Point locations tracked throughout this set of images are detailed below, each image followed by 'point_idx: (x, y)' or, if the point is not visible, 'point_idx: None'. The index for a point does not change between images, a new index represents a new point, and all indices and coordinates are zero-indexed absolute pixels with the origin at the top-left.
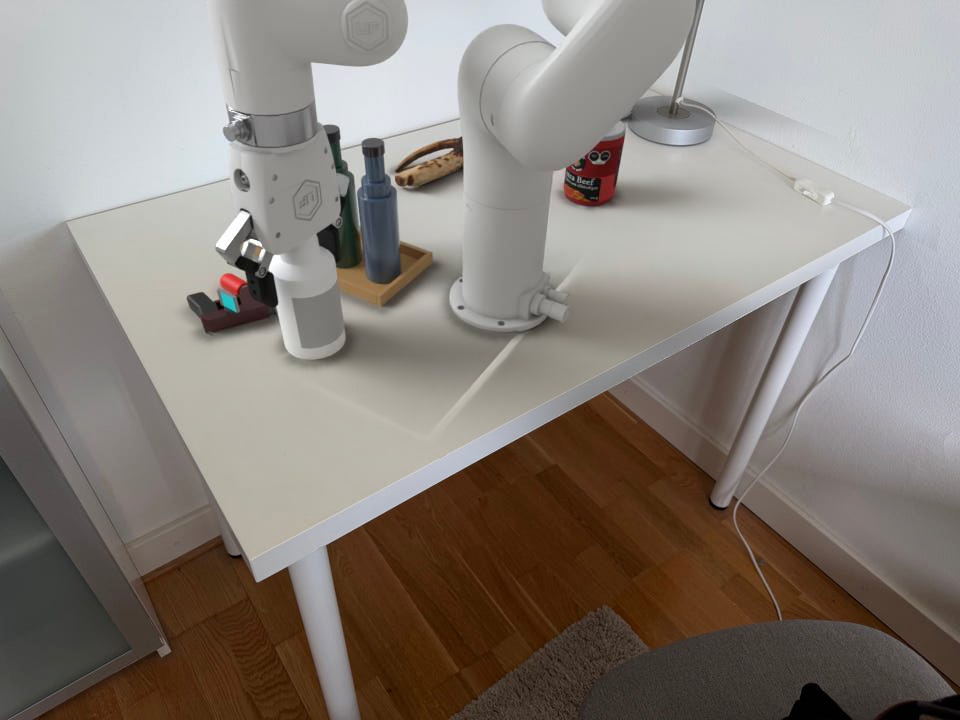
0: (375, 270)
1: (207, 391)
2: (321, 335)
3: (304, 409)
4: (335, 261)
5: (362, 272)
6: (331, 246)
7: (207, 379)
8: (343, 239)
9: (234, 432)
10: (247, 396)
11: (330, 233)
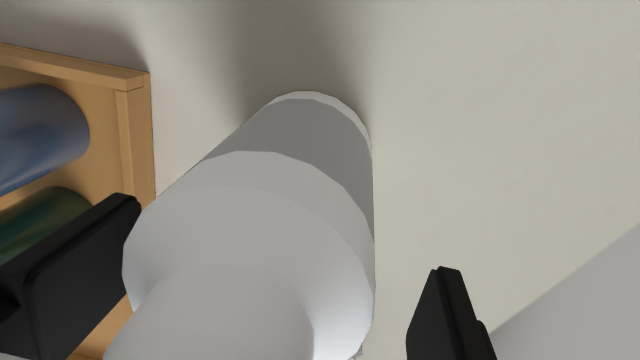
0: (59, 133)
1: (495, 263)
2: (346, 127)
3: (508, 73)
4: (137, 205)
5: (78, 167)
6: (96, 248)
7: (466, 276)
8: (27, 241)
9: (598, 172)
10: (493, 198)
11: (41, 289)
